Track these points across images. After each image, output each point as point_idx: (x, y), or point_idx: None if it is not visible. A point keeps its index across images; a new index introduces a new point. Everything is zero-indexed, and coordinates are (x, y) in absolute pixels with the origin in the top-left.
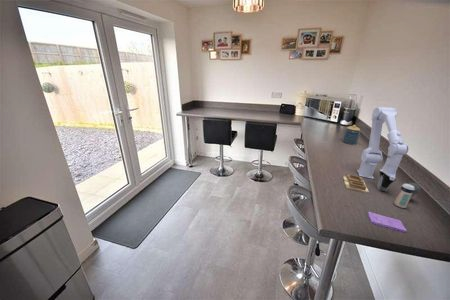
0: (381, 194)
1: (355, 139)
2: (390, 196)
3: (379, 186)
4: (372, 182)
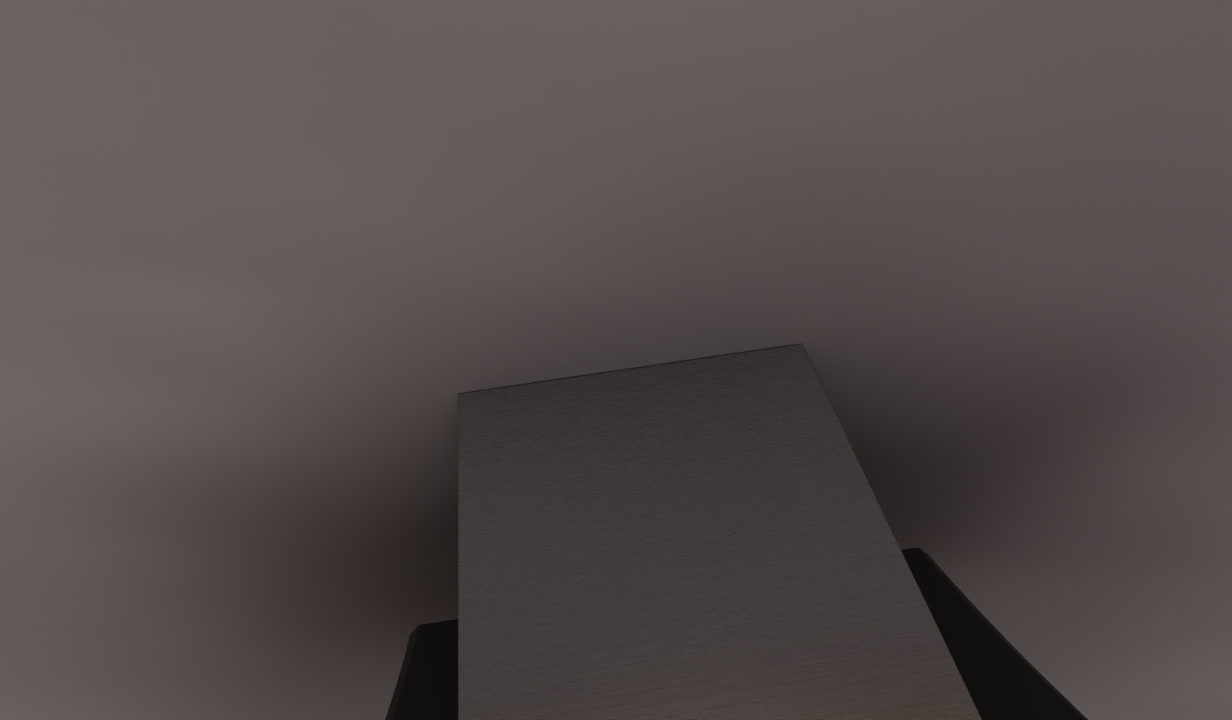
0: (36, 473)
1: None
2: (160, 705)
3: (505, 511)
4: (1212, 210)
